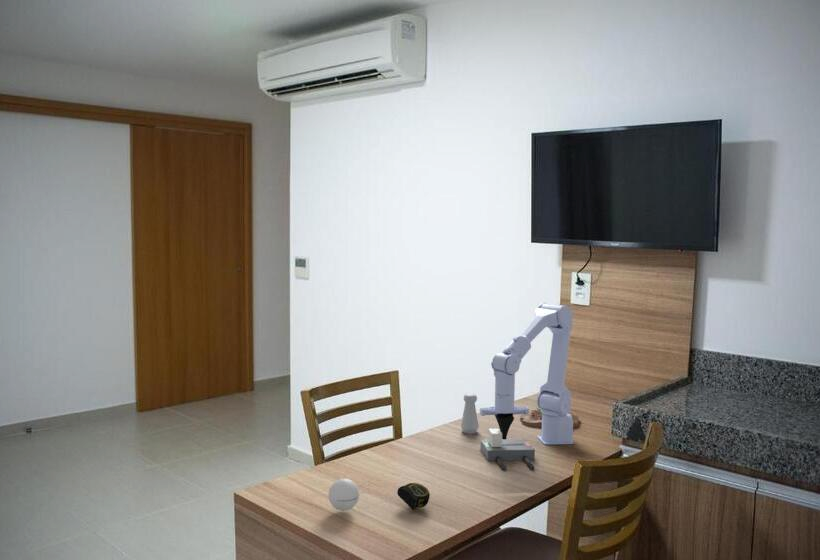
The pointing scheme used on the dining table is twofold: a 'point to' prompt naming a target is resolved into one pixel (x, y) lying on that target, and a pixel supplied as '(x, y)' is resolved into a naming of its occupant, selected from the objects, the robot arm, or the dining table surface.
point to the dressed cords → (523, 459)
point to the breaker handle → (495, 437)
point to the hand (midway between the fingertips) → (503, 438)
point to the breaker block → (508, 450)
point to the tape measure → (414, 495)
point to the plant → (536, 419)
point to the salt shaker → (470, 415)
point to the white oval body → (344, 494)
